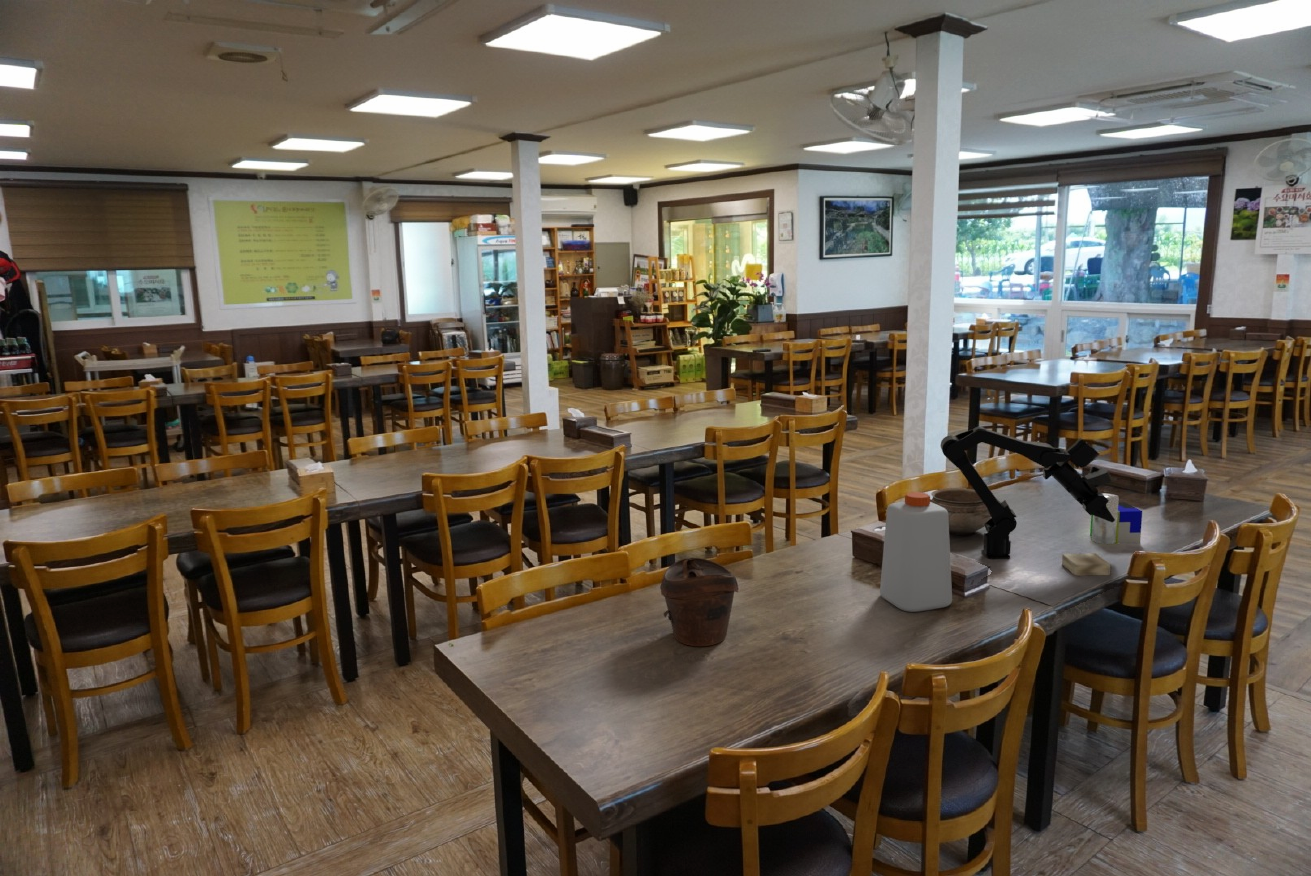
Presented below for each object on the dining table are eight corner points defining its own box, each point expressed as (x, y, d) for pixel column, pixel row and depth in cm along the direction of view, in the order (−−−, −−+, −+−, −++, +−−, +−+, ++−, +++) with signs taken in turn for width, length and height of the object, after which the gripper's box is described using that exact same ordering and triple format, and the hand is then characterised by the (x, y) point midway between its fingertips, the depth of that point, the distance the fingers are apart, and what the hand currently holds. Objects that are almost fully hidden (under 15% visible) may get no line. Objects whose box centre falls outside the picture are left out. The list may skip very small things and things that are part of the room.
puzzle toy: (1140, 543, 254) (1142, 511, 252) (1106, 544, 255) (1108, 512, 253) (1122, 533, 264) (1124, 502, 262) (1090, 534, 264) (1092, 503, 262)
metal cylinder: (1097, 543, 238) (1100, 499, 235) (1087, 537, 244) (1090, 493, 241) (1119, 543, 237) (1122, 498, 235) (1109, 537, 243) (1112, 493, 241)
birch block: (1075, 575, 230) (1076, 564, 230) (1061, 564, 239) (1062, 553, 238) (1109, 574, 230) (1110, 564, 229) (1094, 563, 238) (1095, 553, 238)
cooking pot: (1011, 533, 268) (1013, 496, 265) (979, 547, 256) (981, 508, 253) (940, 518, 287) (941, 483, 284) (908, 530, 275) (908, 493, 272)
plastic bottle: (905, 615, 208) (907, 505, 203) (873, 594, 222) (874, 490, 217) (958, 607, 212) (962, 498, 207) (924, 586, 226) (926, 484, 221)
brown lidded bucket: (688, 613, 214) (686, 545, 211) (755, 632, 202) (754, 560, 199) (643, 638, 201) (639, 566, 198) (711, 659, 188) (709, 583, 185)
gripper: (1102, 467, 228) (1144, 508, 228) (1085, 452, 246) (1124, 490, 245) (1068, 494, 231) (1110, 535, 231) (1054, 478, 249) (1093, 516, 249)
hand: (1110, 518), depth 239 cm, fingers closed on metal cylinder, 6 cm apart
